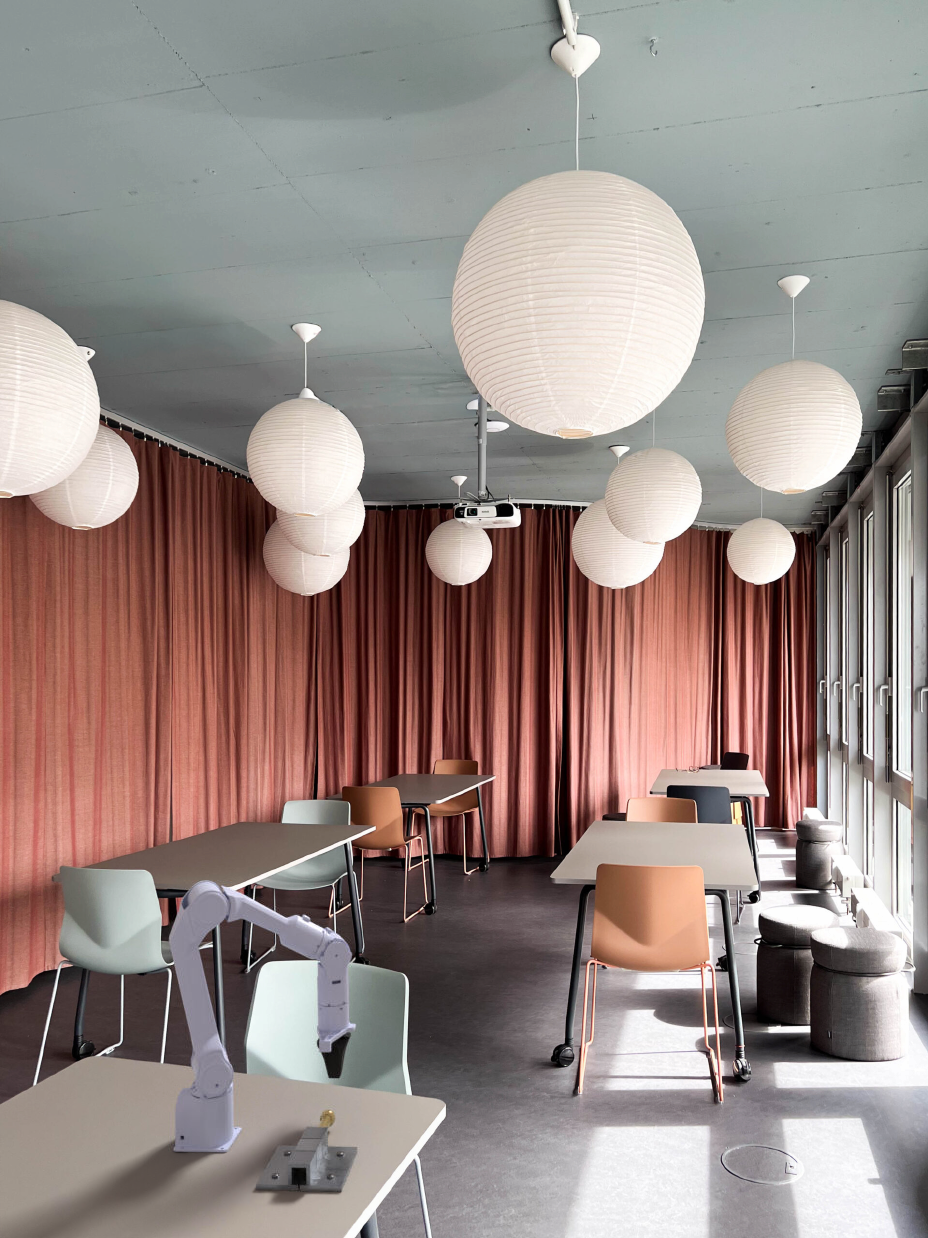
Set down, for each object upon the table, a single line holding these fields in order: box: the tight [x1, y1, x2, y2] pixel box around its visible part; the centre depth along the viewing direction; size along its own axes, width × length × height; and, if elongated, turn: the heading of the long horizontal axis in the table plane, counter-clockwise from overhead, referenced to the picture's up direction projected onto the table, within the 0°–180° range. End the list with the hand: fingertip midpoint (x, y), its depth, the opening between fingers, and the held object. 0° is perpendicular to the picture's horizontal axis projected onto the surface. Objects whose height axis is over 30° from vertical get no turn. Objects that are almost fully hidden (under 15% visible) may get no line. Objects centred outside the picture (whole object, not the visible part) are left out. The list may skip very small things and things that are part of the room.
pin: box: [317, 1109, 336, 1129], centre depth 157 cm, size 3×14×3 cm, turn 175°
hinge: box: [256, 1126, 358, 1192], centre depth 150 cm, size 14×12×4 cm
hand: (334, 1077), depth 169 cm, fingers closed
